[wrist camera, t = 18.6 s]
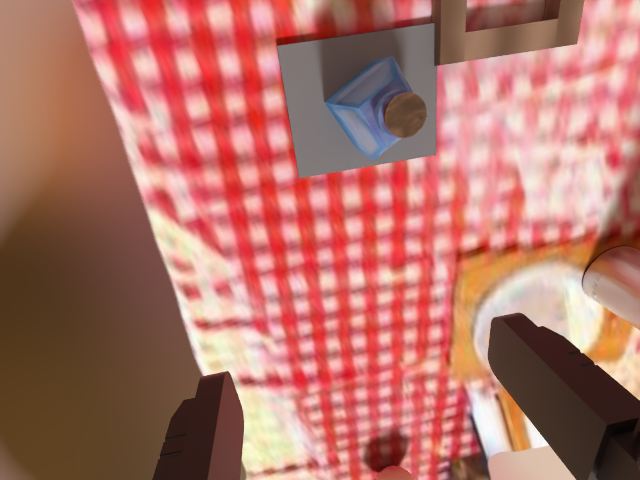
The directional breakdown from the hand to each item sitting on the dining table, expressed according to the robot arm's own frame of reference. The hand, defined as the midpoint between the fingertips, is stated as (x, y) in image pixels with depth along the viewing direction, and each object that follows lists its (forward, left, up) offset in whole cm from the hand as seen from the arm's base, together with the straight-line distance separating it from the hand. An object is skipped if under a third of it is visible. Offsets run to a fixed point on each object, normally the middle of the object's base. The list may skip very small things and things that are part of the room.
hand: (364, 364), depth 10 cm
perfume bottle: (-8, -5, -30) cm, 31 cm away
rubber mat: (-8, -5, -30) cm, 32 cm away
